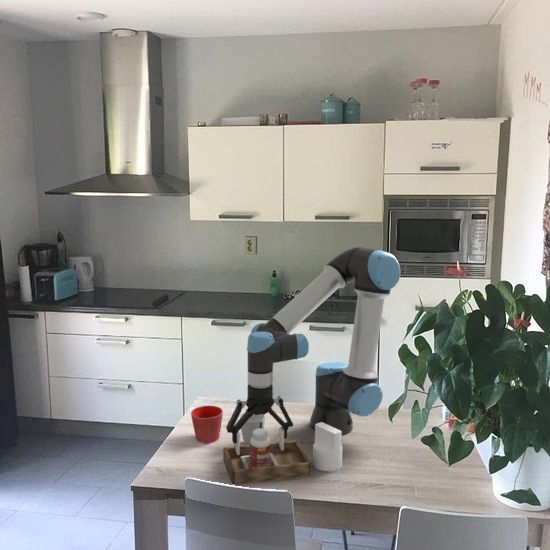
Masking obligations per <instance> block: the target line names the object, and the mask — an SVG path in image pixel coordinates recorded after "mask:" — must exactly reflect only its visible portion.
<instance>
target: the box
mask: <svg viewBox="0 0 550 550" xmlns="http://www.w3.org/2000/svg"><path fill="white" fill-rule="evenodd" d="M222 457H223V459H222V460H223V462H224V465H225V469H226V471H227V475H228V478H229V480H230V484H231V485H232V484H235V485H242V484H250V483H259V482H260V483H261V482H269V481H278V480H287V479H288V480H289V479H294V478H295V479H297V478H306V477H311V476H312V465H313V462H312V461H310V459H309V457H308V455H307V453H306V452H305V451H304V449H303V447H302V446H301V444H300V442H299V441H298V440H284V450H281V449H280V447H279V441H277V442H270V465H269V466H267V467H258V468H252V467H251V466H250V445H245V444H244V445H240V455H237V453H236V445H235V446H226V447H225V446H224V447H223V449H222Z"/></svg>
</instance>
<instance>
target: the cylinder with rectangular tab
mask: <svg viewBox="0 0 550 550" xmlns="http://www.w3.org/2000/svg"><path fill="white" fill-rule="evenodd" d="M341 434H342V431H340V430H338V429H336V428H334V427H332V426H329V425H327V424H325V423H323V422H320V423H317V424H315V431H314V443H313V444H312V446H313V447H312V465H313V467H314V468H315V469H317V470H319V471H322V472H334V471H338V470H339V469H341V468H342V466H343V445H342V435H341Z"/></svg>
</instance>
